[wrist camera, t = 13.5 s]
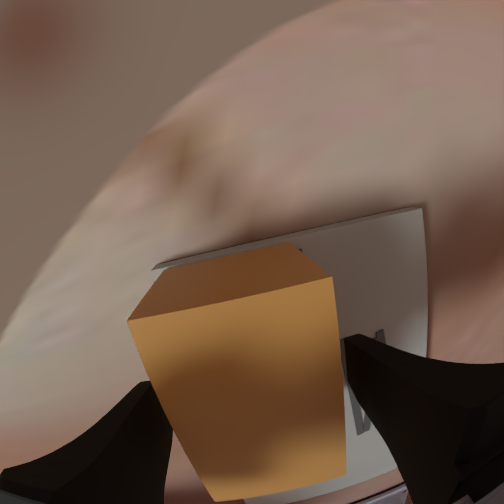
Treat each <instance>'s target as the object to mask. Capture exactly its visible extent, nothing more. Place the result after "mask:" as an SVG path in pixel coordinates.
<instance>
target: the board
mask: <svg viewBox="0 0 504 504" xmlns="http://www.w3.org/2000/svg"><path fill="white" fill-rule="evenodd" d="M288 242H290V243H291V244H292V245H294V246H295V247H296V248H297V249H299V250H300V251H301V252H302V253H304V254H305V255H306V256H307V257H309V258H310V259H311V260H312V261H314V262H315V263H316V264H317V265H319V266H320V267H321V268H322V269H324V270H325V271H326V272H327V273H329V274H330V275H331V276H332V278H333V286H334V294H335V302H336V310H337V319H338V329H339V339H340V350H341V361H342V374H343V388H344V406H345V428H346V475H344V476H340V477H337V478H334V479H331V480H327V481H324V482H320V483H317V484H313V485H309V486H305V487H301V488H297V489H293V490H288V491H284V492H279V493H274V494H269V495H263V496H257V497H251V498H244V499H243V500H244V502H245V503H246V504H288V503H293V502H297V501H301V500H305V499H309V498H313V497H317V496H320V495H324V494H327V493H330V492H334V491H337V490H340V489H343V488H346V487H349V486H352V485H355V484H358V483H361V482H363V481H366V480H369V479H371V478H374V477H376V476H379V475H381V474H384V473H386V472H389V471H391V470H393V469H396V468H398V467H397V464H396V462H395V460H394V458H393V456H392V454H391V452H390V450H389V448H388V446H387V445H386V443H385V441H384V440H383V438H382V437H381V435H380V434H379V432H378V431H377V429H376V428H375V426H374V425H373V423H372V422H371V421H370V419H369V418H368V416H367V415H366V413H365V412H364V410H363V409H362V407H361V406H360V404H359V403H358V401H357V400H356V397H355V395H354V393H353V391H352V389H351V387H350V385H349V383H348V381H347V369H346V357H345V346H344V338H345V337H348V336H352V335H355V334H358V333H359V334H362V335H365V336H367V337H370V338H372V339H375V340H377V341H379V342H382V343H384V344H387V345H389V346H392V347H395V348H397V349H400V350H403V351H406V352H409V353H412V354H415V355H419V356H422V357H426V348H427V326H428V281H427V258H426V244H425V232H424V222H423V213H422V208H416V207H407V208H403V209H398V210H393V211H389V212H384V213H380V214H375V215H371V216H366V217H362V218H357V219H353V220H348V221H344V222H339V223H335V224H330V225H326V226H321V227H317V228H312V229H308V230H304V231H299V232H295V233H290V234H286V235H282V236H277V237H273V238H268V239H264V240H260V241H255V242H251V243H247V244H242V245H238V246H234V247H229V248H225V249H221V250H217V251H212V252H208V253H204V254H199V255H195V256H191V257H187V258H182V259H178V260H174V261H170V262H166V263H161V264H157V265H155V267H154V268H153V269H152V270H151V273H152V276H153V280H154V282H155V281H156V280H157V278H158V277H159V276H160V274H161V273H162V272H163V270H165V269H170V268H174V267H179V266H183V265H188V264H192V263H197V262H202V261H206V260H211V259H215V258H220V257H224V256H229V255H233V254H238V253H242V252H247V251H251V250H256V249H260V248H265V247H270V246H274V245H279V244H283V243H288Z"/></svg>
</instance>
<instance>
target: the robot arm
mask: <svg viewBox="0 0 504 504" xmlns="http://www.w3.org/2000/svg"><path fill="white" fill-rule="evenodd" d="M344 346H345V357H346V369H347V381H348V383H349V385H350V387H351V389H352V391H353V393H354V395H355V397H356V400H357V401H358V403H359V404H360V406H361V407H362V409H363V410H364V412H365V413H366V415H367V416H368V418H369V419H370V421H371V422H372V423H373V425H374V426H375V428H376V429H377V431H378V432H379V434H380V435H381V437H382V438H383V440H384V441H385V443H386V445H387V446H388V448H389V450H390V452H391V454H392V456H393V458H394V460H395V462H396V464H397V467H398V469H399V471H400V473H401V475H402V478H403V480H404V482H405V484H403V485H400V486H398V487H396V488H394V489H391V490H389V491H387V492H384V493H382V494H379V495H377V496H374V497H372V498H369V499H367V500H364V501H361V502H358V503H355V504H405V501H406V498H407V495H408V492H409V494H410V497H411V499H412V501H413V504H504V363H495V364H466V363H454V362H446V361H441V360H436V359H430V358H426V357H422V356H419V355H415V354H412V353H409V352H406V351H403V350H400V349H397V348H395V347H392V346H389V345H387V344H384V343H382V342H379V341H377V340H375V339H372V338H370V337H367V336H365V335H362V334H359V333H358V334H355V335H352V336H348V337H345V338H344ZM172 437H173V428H172V426H171V424H170V422H169V420H168V418H167V416H166V414H165V412H164V410H163V408H162V406H161V403H160V401H159V399H158V397H157V395H156V393H155V390H154V388H153V386H152V384H151V381H144V382H140V383H139V384H137V385H136V386H135V387H134V388H133V389H132V390H131V391H130V392H129V393H128V394H127V395H126V396H125V397H124V398H123V399H122V400H121V401H120V402H118V403H117V404H116V405H115V406H114V407H113V408H112V409H111V410H110V411H109V412H108V413H107V414H106V415H105V416H104V417H102V418H101V419H100V420H99V421H98V422H97V423H96V424H95V425H93V426H92V427H91V428H90V429H88V430H87V431H86V432H84V433H83V434H82V435H80V436H79V437H77V438H76V439H74V440H73V441H71V442H70V443H68V444H66V445H64V446H63V447H61V448H59V449H57V450H56V451H54V452H52V453H50V454H48V455H45V456H43V457H41V458H38V459H36V460H33V461H31V462H28V463H25V464H21V465H18V466H14V467H10V468H6V469H4V470H3V471H2V473H1V474H0V504H164V488H165V481H166V475H167V469H168V463H169V458H170V452H171V446H172Z"/></svg>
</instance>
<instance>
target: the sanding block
mask: <svg viewBox="0 0 504 504" xmlns="http://www.w3.org/2000/svg"><path fill="white" fill-rule="evenodd" d="M127 323H128V326H129V328H130V331H131V334H132V337H133V339H134V342H135V345H136V347H137V350H138V352H139V355H140V357H141V360H142V362H143V365H144V367H145V369H146V372H147V374H148V377H149V379H150V381H151V384H152V386H153V388H154V390H155V393H156V395H157V397H158V399H159V401H160V403H161V406H162V408H163V410H164V412H165V414H166V416H167V418H168V420H169V422H170V424H171V426H172V428H173V430H174V432H175V434H176V436H177V438H178V440H179V442H180V444H181V445H182V447H183V449H184V451H185V453H186V455H187V456H188V458H189V460H190V462H191V464H192V465H193V467H194V469H195V471H196V472H197V474H198V476H199V477H200V479H201V481H202V482H203V484H204V486H205V487H206V489H207V490H208V492H209V494H210V495H211V497H212V498H213V500H214V501H215V502H219V501H229V500H237V499H244V498H251V497H257V496H263V495H269V494H274V493H279V492H284V491H288V490H293V489H297V488H301V487H305V486H309V485H313V484H317V483H320V482H324V481H327V480H331V479H334V478H337V477H340V476H344V475H346V428H345V406H344V388H343V374H342V361H341V350H340V339H339V329H338V319H337V310H336V302H335V294H334V286H333V278H332V276H331V275H330V274H329V273H327V272H326V271H325V270H324V269H322V268H321V267H320V266H319V265H317V264H316V263H315V262H314V261H312V260H311V259H310V258H309V257H307V256H306V255H305V254H304V253H302V252H301V251H300V250H299V249H297V248H296V247H295V246H294V245H292V244H291V243H290V242H288V243H283V244H279V245H274V246H270V247H265V248H260V249H256V250H251V251H247V252H242V253H238V254H233V255H229V256H224V257H220V258H215V259H211V260H206V261H202V262H197V263H192V264H188V265H183V266H179V267H174V268H170V269H165V270H163V272H162V273H161V274H160V276H159V277H158V278H157V280H156V281H155V282H154V284H153V285H152V287H151V288H150V289H149V291H148V292H147V293H146V295H145V296H144V297H143V299H142V300H141V302H140V303H139V304H138V306H137V307H136V309H135V310H134V311H133V313H132V314H131V316H130V317H129V318H128V320H127Z"/></svg>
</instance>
